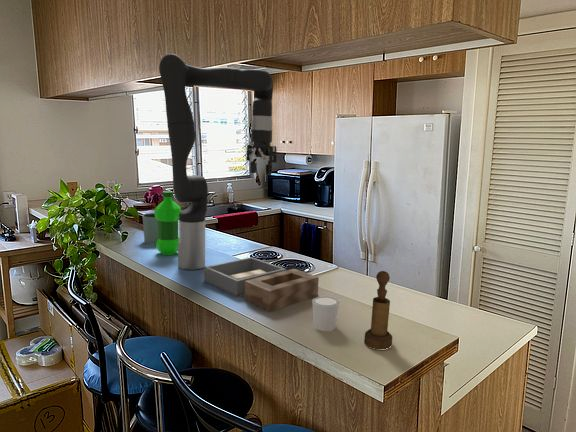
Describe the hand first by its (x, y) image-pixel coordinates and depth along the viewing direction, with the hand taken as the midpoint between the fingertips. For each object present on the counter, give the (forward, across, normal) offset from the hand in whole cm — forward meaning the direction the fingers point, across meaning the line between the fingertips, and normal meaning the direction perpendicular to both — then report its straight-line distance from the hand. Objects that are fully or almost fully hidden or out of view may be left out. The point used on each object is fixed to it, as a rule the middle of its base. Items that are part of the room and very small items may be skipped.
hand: (260, 174), depth 162 cm
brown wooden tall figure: (+34, +69, -20) cm, 79 cm away
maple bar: (+34, +15, -17) cm, 40 cm away
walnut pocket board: (+34, +32, -18) cm, 50 cm away
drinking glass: (+34, -55, -15) cm, 66 cm away
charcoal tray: (+34, +14, -18) cm, 41 cm away
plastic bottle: (+34, -33, -20) cm, 52 cm away
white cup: (+34, +54, -23) cm, 68 cm away
